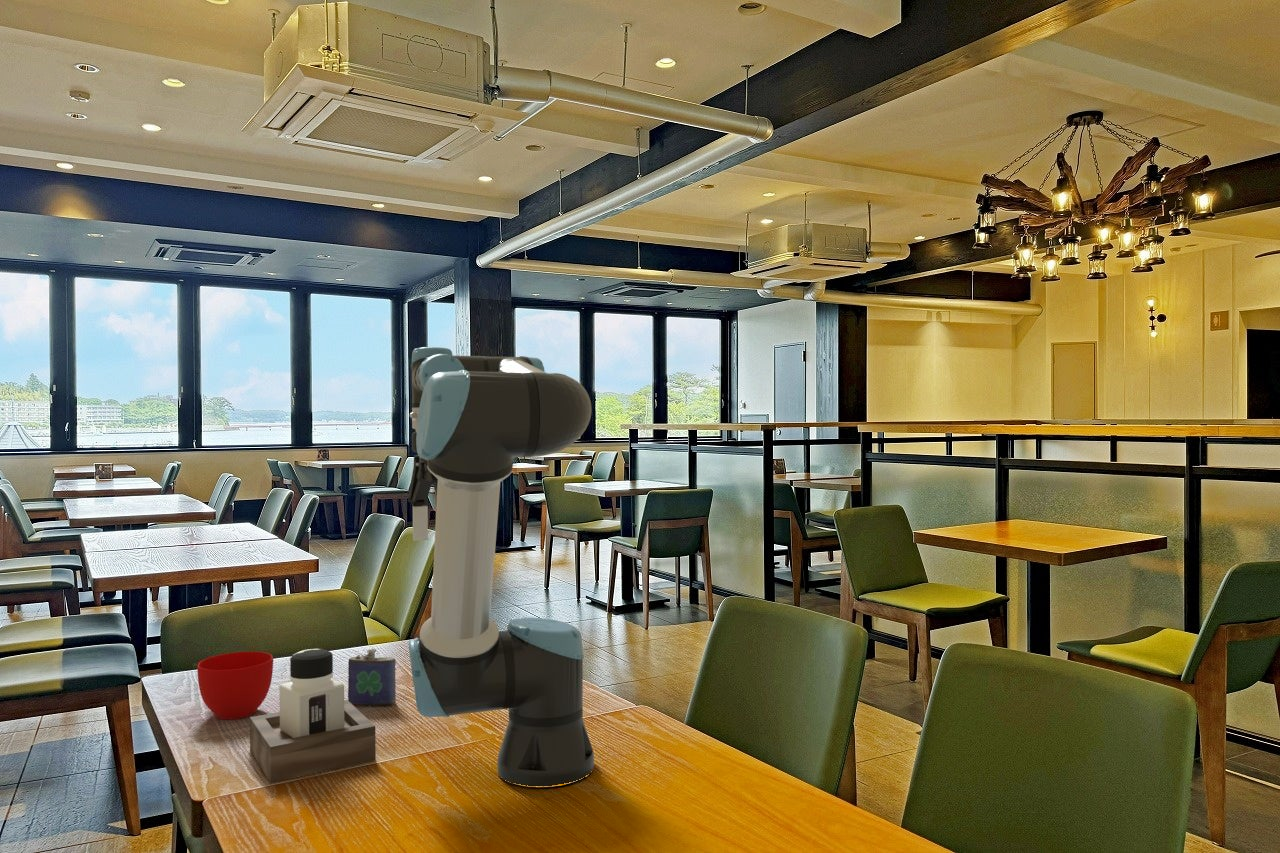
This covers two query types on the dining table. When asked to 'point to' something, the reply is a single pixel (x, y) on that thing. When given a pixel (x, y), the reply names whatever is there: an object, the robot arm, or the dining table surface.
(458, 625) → the robot arm
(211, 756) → the dining table surface
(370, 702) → the flask
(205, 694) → the ceramic cup
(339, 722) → the container
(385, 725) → the dining table surface
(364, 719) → the thick-rimmed brown tray
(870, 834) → the dining table surface
